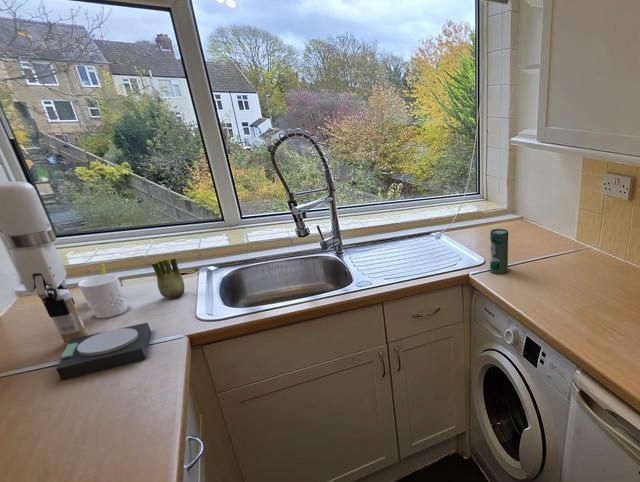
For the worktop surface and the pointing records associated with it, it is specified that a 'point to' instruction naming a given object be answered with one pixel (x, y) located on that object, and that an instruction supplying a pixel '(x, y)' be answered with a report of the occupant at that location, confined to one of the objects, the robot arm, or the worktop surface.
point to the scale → (104, 351)
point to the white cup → (104, 295)
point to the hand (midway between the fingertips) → (62, 310)
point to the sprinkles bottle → (69, 320)
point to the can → (499, 251)
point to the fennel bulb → (169, 278)
